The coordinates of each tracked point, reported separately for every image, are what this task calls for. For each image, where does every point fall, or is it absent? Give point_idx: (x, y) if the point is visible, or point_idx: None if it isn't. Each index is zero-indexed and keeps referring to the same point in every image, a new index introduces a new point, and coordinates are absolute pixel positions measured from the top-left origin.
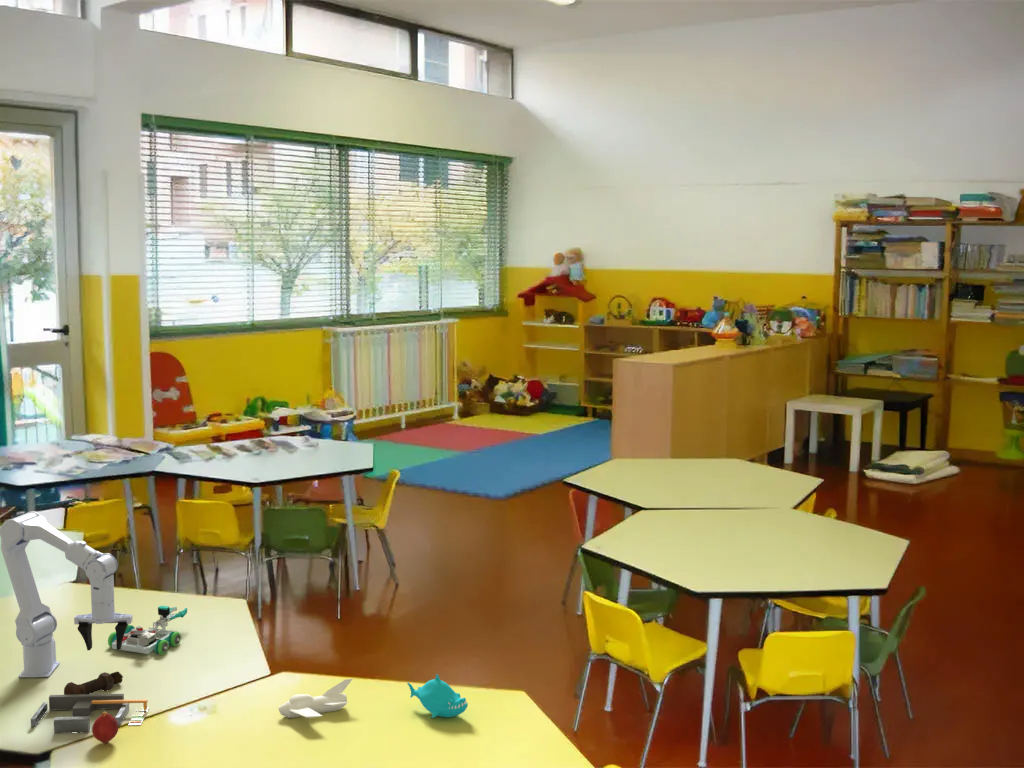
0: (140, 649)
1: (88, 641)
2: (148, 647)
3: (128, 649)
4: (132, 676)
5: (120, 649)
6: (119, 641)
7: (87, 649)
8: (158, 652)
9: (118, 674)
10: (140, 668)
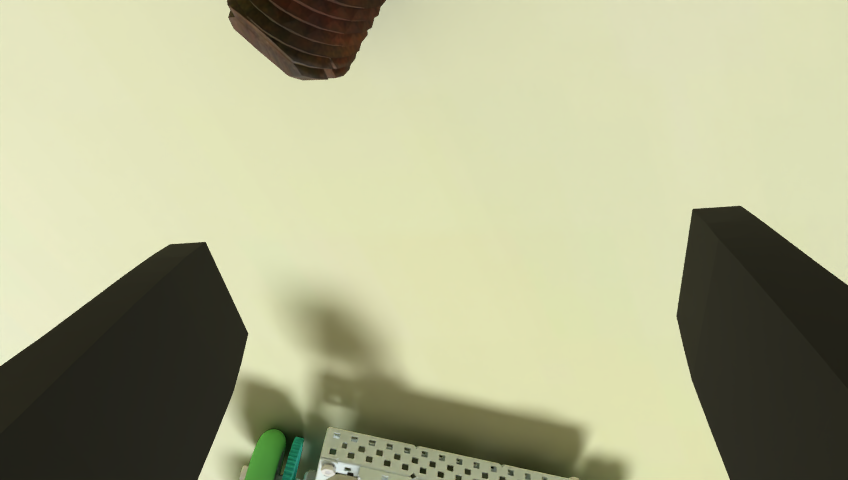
0: (378, 458)
1: (791, 335)
2: (325, 470)
3: (469, 465)
4: (272, 159)
5: (527, 470)
6: (33, 349)
7: (748, 212)
8: (275, 439)
9: (254, 7)
10: (292, 281)
